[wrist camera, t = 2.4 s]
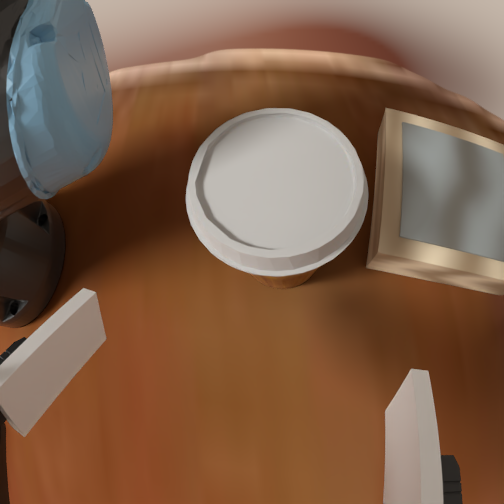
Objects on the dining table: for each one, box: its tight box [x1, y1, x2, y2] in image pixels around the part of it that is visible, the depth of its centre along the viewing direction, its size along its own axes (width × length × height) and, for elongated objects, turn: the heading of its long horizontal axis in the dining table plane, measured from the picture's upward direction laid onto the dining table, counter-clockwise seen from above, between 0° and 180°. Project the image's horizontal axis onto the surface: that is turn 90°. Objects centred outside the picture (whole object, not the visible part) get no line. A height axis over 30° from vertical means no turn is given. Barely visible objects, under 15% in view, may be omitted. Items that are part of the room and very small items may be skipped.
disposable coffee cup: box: [186, 108, 368, 289], centre depth 21 cm, size 10×10×12 cm
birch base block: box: [366, 108, 504, 295], centre depth 24 cm, size 14×14×4 cm
